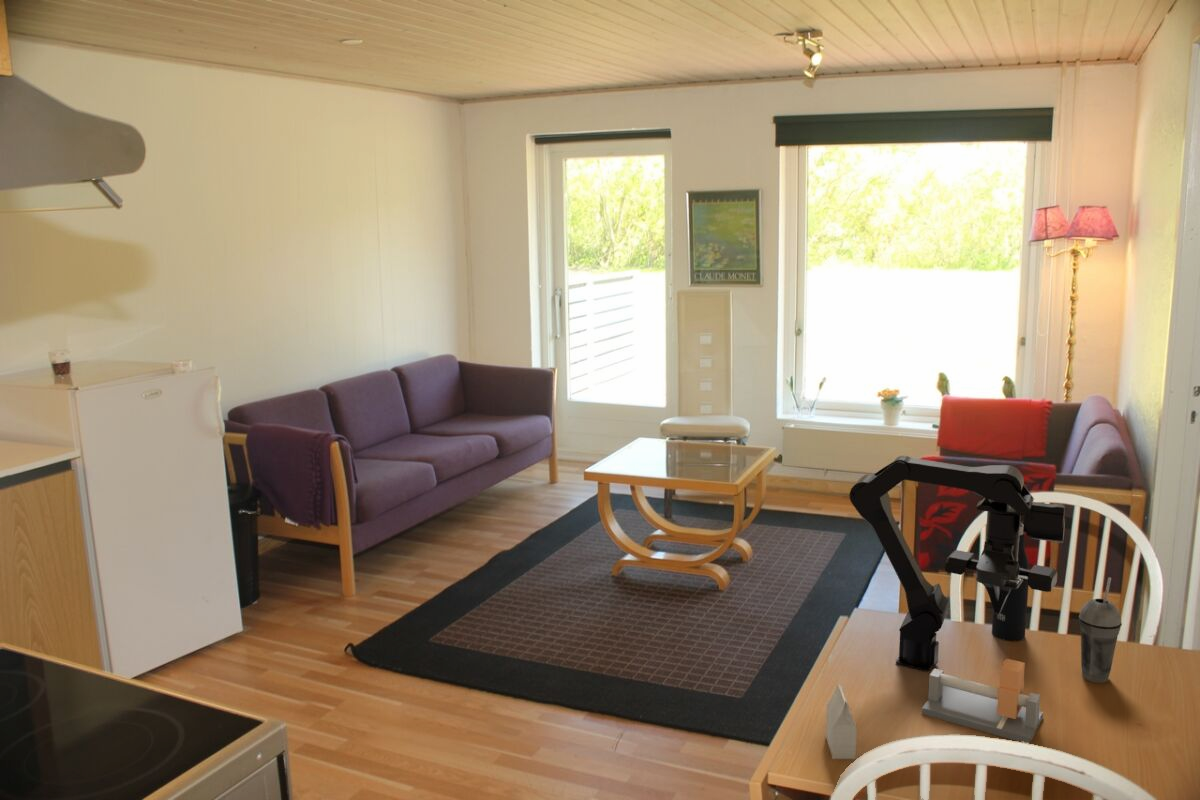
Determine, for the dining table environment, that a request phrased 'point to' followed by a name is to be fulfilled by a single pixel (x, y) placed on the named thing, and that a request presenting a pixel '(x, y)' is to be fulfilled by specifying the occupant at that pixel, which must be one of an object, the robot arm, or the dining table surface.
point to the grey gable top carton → (840, 727)
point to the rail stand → (980, 707)
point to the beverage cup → (1098, 637)
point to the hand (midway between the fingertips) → (997, 612)
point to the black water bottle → (1014, 603)
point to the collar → (1010, 688)
